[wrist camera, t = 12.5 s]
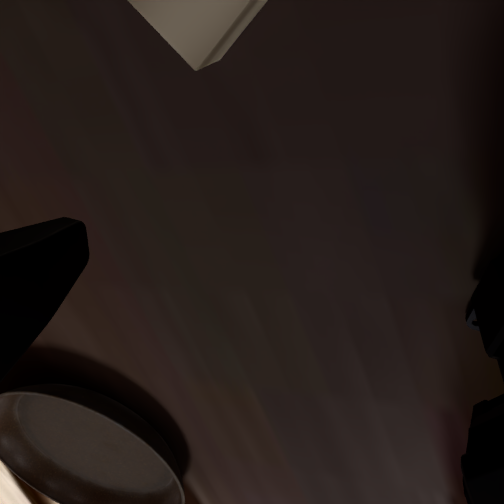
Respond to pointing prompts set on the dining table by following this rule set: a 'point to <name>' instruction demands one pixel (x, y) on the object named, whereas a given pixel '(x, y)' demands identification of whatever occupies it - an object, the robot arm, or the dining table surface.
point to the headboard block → (199, 25)
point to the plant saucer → (85, 448)
